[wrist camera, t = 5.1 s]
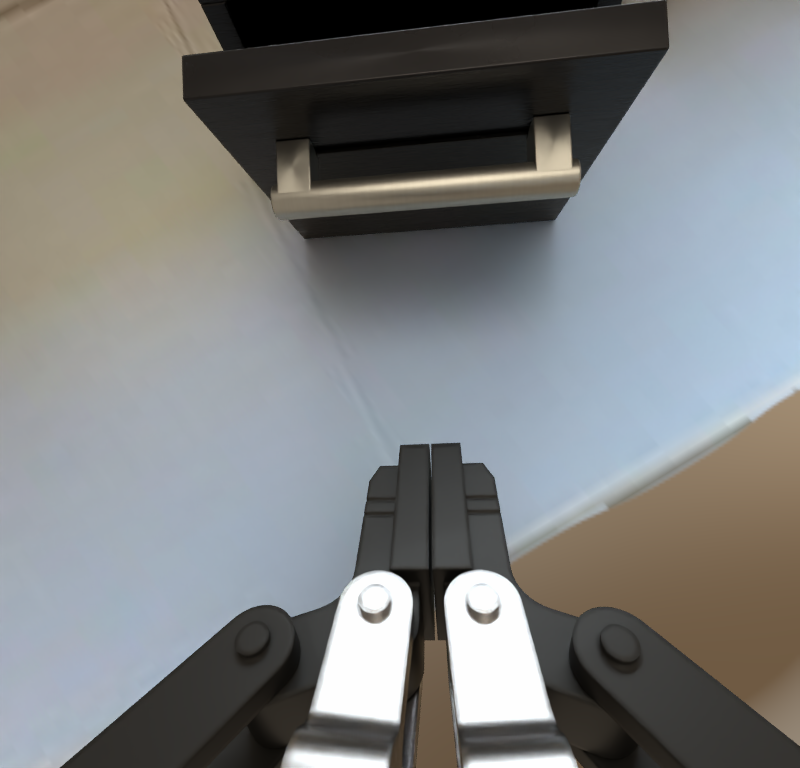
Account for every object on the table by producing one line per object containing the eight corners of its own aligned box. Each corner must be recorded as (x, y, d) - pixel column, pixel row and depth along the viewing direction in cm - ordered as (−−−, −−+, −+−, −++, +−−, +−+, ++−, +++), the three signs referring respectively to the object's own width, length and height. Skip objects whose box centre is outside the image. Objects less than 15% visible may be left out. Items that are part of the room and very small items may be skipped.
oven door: (557, 266, 27) (675, 139, 14) (305, 283, 29) (185, 183, 15) (554, 194, 27) (667, -3, 14) (303, 215, 29) (180, 54, 15)
